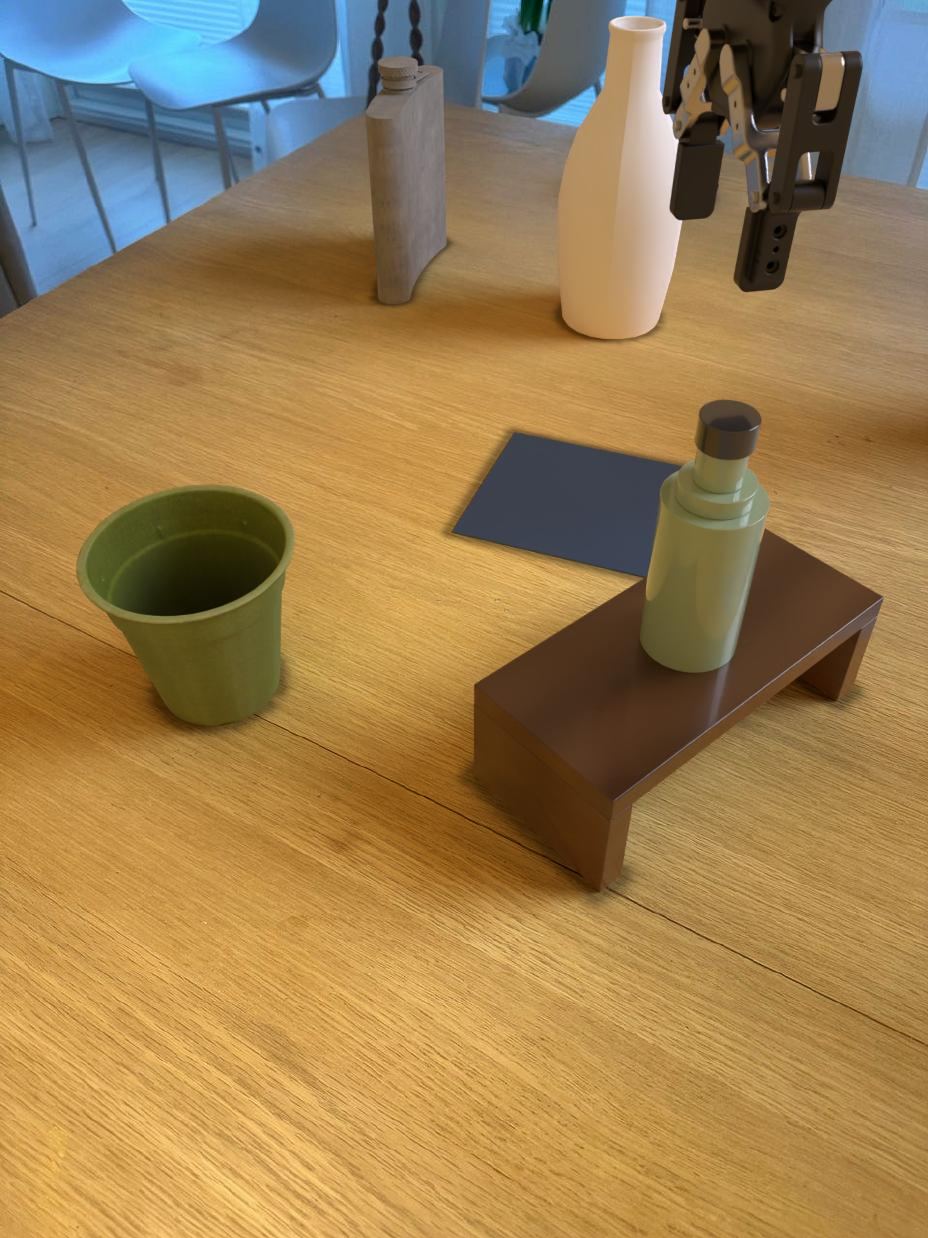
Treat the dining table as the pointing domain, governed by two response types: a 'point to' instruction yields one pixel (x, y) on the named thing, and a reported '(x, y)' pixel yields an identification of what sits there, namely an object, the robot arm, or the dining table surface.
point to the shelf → (652, 701)
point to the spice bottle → (706, 545)
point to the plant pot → (196, 594)
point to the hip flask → (406, 173)
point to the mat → (570, 503)
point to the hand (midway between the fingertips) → (721, 249)
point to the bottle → (620, 194)
